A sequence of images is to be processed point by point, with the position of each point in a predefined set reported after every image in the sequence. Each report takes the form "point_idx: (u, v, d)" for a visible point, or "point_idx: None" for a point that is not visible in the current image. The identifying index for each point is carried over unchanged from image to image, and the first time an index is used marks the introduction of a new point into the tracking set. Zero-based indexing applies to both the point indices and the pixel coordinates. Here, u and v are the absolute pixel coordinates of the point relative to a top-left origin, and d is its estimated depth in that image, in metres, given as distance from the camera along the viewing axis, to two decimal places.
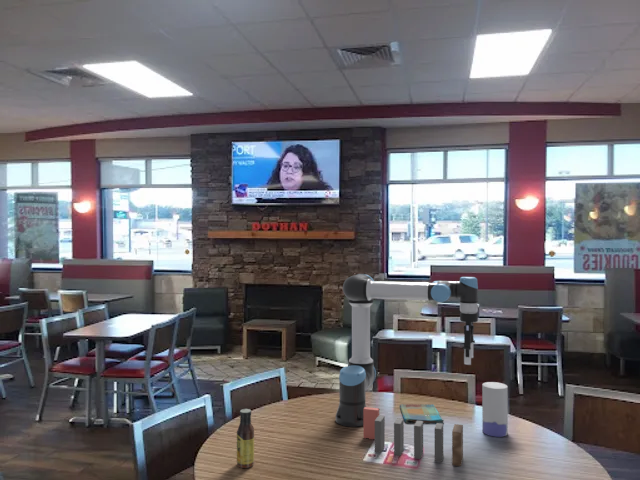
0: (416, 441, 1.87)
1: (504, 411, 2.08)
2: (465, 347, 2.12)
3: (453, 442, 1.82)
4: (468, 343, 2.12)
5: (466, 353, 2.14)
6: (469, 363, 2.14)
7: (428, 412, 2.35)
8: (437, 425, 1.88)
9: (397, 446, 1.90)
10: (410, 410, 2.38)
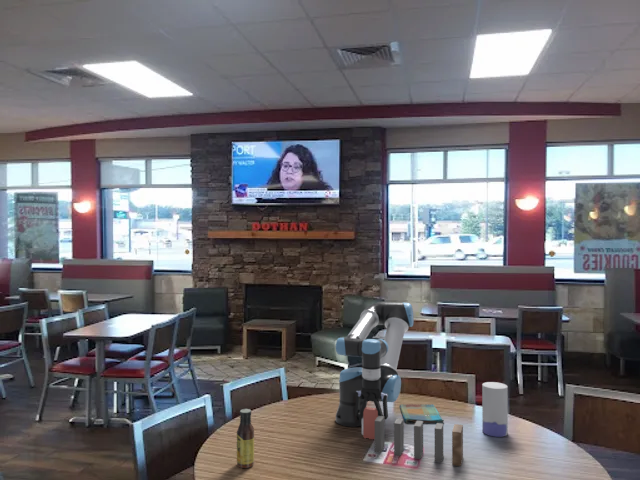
0: (416, 441, 1.87)
1: (504, 411, 2.08)
2: None
3: (453, 442, 1.82)
4: None
5: None
6: None
7: (428, 412, 2.35)
8: (437, 425, 1.88)
9: (397, 446, 1.90)
10: (410, 410, 2.38)
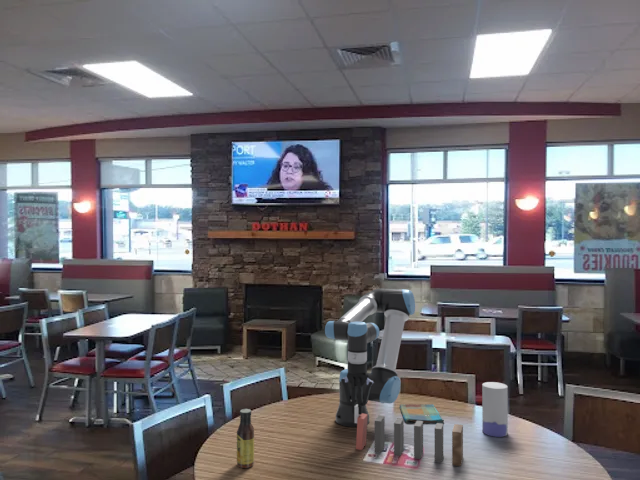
0: (416, 441, 1.87)
1: (504, 411, 2.08)
2: None
3: (453, 442, 1.82)
4: None
5: None
6: None
7: (428, 412, 2.35)
8: (437, 425, 1.88)
9: (397, 446, 1.90)
10: (410, 410, 2.38)
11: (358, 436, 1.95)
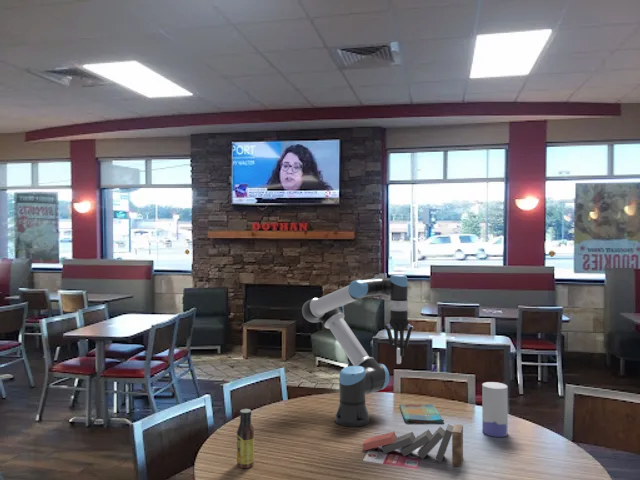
0: (430, 444, 1.86)
1: (504, 411, 2.08)
2: None
3: (453, 442, 1.82)
4: None
5: None
6: None
7: (428, 412, 2.35)
8: (448, 427, 1.86)
9: (409, 449, 1.88)
10: (410, 410, 2.38)
11: (374, 443, 1.93)
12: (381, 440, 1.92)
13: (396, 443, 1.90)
